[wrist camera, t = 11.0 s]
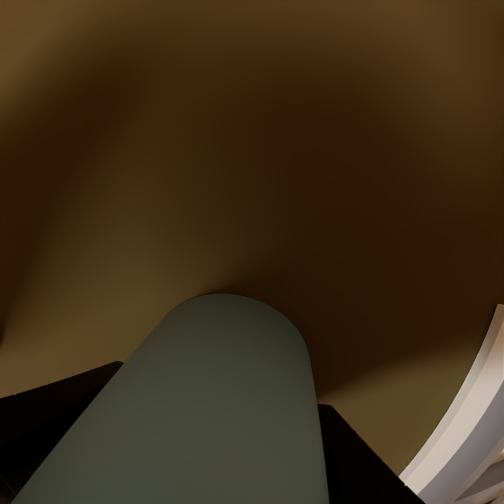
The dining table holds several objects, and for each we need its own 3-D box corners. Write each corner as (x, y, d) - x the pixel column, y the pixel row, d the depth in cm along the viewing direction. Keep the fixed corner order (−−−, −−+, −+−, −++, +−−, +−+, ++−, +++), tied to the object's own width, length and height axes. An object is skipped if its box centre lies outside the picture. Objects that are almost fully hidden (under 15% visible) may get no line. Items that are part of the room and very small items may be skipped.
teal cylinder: (289, 431, 9) (284, 609, 2) (153, 403, 9) (69, 554, 2) (329, 310, 8) (412, 573, 1) (154, 277, 8) (-47, 441, 1)
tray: (445, 525, 11) (451, 541, 9) (314, 552, 12) (314, 573, 10) (596, 317, 6) (616, 330, 4) (497, 303, 7) (538, 330, 5)
